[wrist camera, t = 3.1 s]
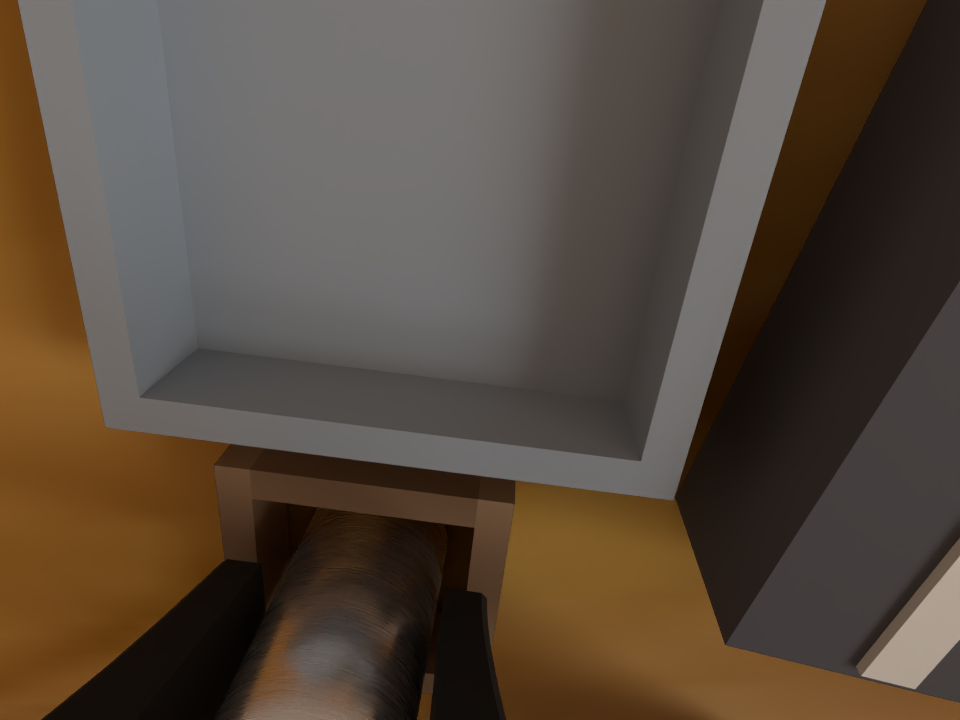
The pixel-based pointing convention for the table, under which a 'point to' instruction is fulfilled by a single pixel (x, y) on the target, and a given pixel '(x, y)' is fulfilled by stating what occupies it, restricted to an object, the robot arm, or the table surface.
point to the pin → (346, 624)
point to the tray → (417, 219)
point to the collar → (364, 489)
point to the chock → (854, 412)
